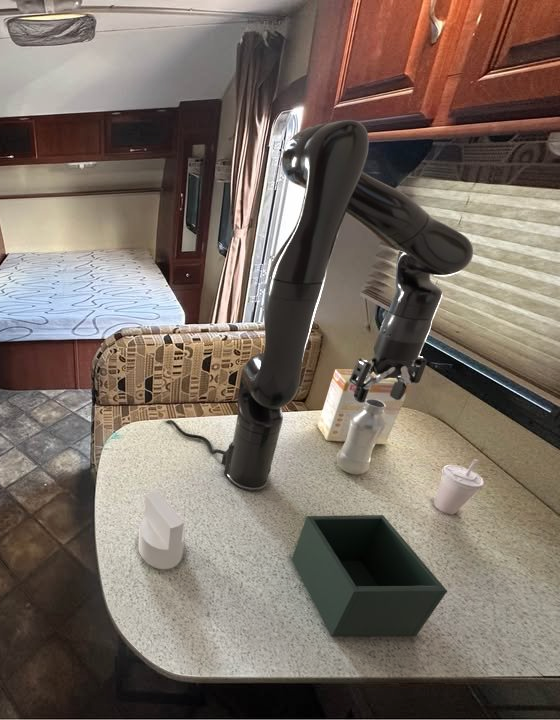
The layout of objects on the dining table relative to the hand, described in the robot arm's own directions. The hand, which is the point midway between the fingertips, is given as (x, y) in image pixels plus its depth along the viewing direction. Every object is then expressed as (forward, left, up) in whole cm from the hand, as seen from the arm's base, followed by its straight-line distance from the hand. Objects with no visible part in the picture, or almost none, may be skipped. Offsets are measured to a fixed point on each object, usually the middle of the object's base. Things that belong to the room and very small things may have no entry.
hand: (376, 399), depth 84 cm
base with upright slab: (-23, -51, -21) cm, 60 cm away
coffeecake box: (-3, +15, -21) cm, 26 cm away
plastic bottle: (0, 0, -21) cm, 21 cm away
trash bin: (+7, -36, -21) cm, 42 cm away
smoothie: (+18, 0, -21) cm, 28 cm away
